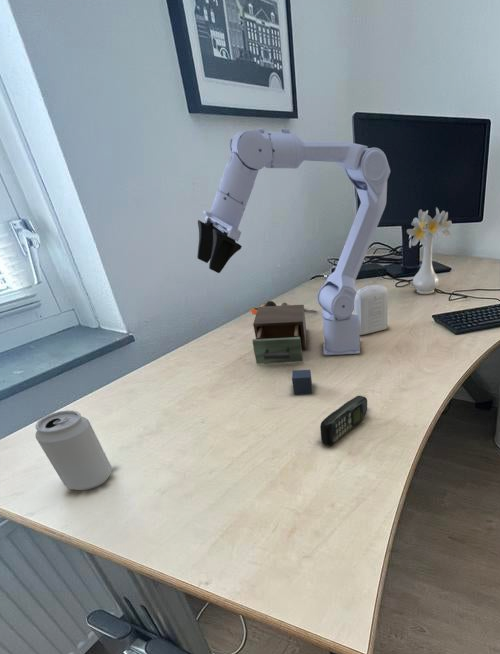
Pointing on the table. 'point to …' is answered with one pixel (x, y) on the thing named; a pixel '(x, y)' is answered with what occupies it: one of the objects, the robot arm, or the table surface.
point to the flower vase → (428, 247)
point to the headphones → (271, 303)
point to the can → (73, 449)
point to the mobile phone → (343, 420)
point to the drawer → (278, 344)
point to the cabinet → (282, 318)
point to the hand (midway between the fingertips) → (208, 265)
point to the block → (302, 382)
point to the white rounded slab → (371, 308)
